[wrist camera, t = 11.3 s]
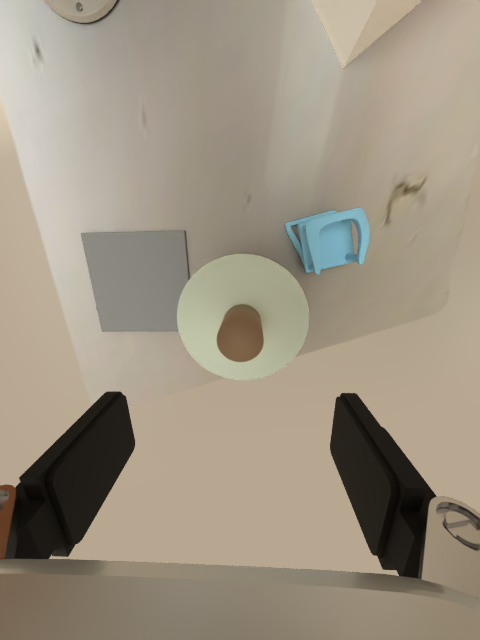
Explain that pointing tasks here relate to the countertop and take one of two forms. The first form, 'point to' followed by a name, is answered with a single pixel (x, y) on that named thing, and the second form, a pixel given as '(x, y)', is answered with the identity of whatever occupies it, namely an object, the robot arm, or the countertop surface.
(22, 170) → the countertop surface
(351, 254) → the chair
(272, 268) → the lid
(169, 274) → the mat
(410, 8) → the milk
